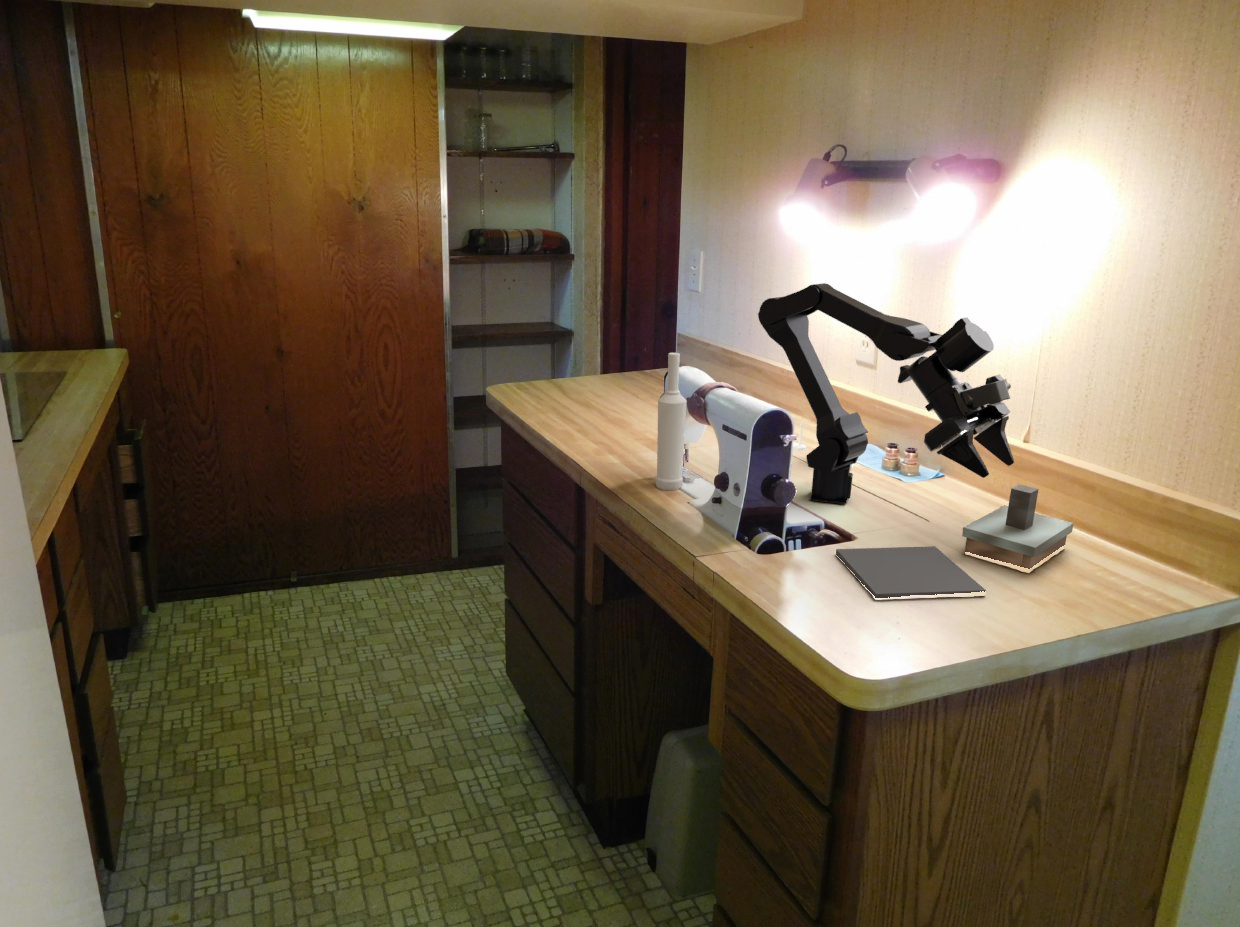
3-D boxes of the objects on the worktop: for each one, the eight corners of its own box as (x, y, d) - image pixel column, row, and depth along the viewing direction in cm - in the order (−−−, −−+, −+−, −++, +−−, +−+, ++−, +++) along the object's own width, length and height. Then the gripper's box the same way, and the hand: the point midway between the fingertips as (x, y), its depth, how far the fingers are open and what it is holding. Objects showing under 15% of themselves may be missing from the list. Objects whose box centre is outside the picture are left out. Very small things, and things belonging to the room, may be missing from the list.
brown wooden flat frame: (964, 554, 144) (966, 536, 143) (1002, 532, 153) (1005, 515, 152) (1028, 573, 137) (1031, 555, 136) (1064, 549, 147) (1067, 531, 146)
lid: (962, 536, 143) (968, 490, 141) (1003, 513, 153) (1009, 470, 151) (1033, 557, 136) (1041, 509, 133) (1072, 531, 146) (1080, 486, 144)
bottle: (650, 487, 171) (654, 354, 164) (662, 480, 176) (667, 350, 168) (675, 492, 169) (681, 357, 162) (687, 484, 173) (693, 353, 166)
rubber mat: (835, 555, 142) (836, 549, 142) (934, 552, 144) (935, 546, 144) (875, 600, 127) (876, 593, 127) (985, 596, 129) (986, 590, 129)
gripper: (952, 366, 137) (1016, 454, 133) (1006, 352, 149) (1065, 432, 145) (898, 409, 144) (956, 493, 140) (953, 391, 157) (1008, 468, 153)
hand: (999, 470), depth 144 cm, fingers open, 9 cm apart
